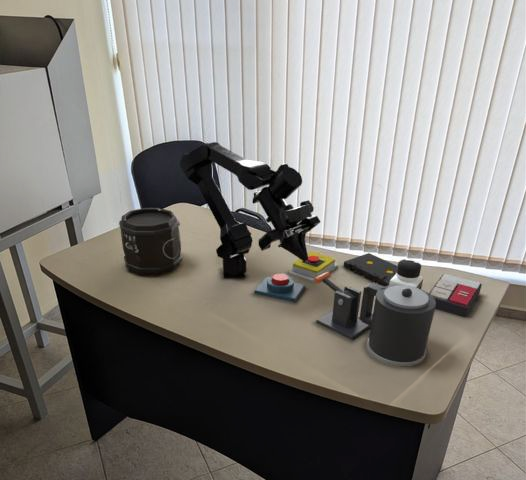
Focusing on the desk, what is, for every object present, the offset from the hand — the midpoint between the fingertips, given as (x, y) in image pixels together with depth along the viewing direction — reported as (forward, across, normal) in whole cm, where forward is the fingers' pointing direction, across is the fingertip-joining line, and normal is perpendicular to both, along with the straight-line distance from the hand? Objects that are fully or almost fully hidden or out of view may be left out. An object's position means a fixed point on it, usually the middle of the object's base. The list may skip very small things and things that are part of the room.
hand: (306, 260), depth 126 cm
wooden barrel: (-26, -13, +44) cm, 53 cm away
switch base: (+19, 0, 0) cm, 19 cm away
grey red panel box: (+29, +33, -9) cm, 45 cm away
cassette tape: (+12, +32, +8) cm, 35 cm away
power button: (0, +2, +14) cm, 14 cm away
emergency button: (+1, +20, +18) cm, 27 cm away
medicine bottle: (+22, +22, -2) cm, 31 cm away
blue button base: (+2, +2, +17) cm, 17 cm away
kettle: (+29, 0, -9) cm, 30 cm away
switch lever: (+11, 0, -3) cm, 11 cm away
